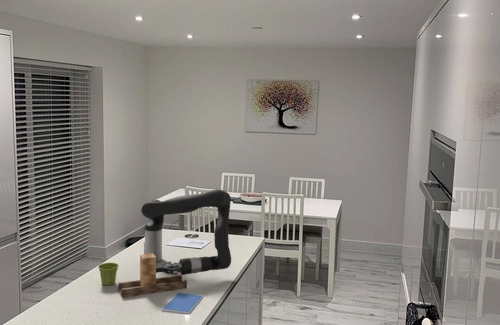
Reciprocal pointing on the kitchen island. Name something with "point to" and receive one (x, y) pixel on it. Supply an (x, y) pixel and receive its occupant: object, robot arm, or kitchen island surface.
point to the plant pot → (108, 273)
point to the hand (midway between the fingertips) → (154, 270)
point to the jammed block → (147, 269)
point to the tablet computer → (182, 303)
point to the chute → (152, 286)
